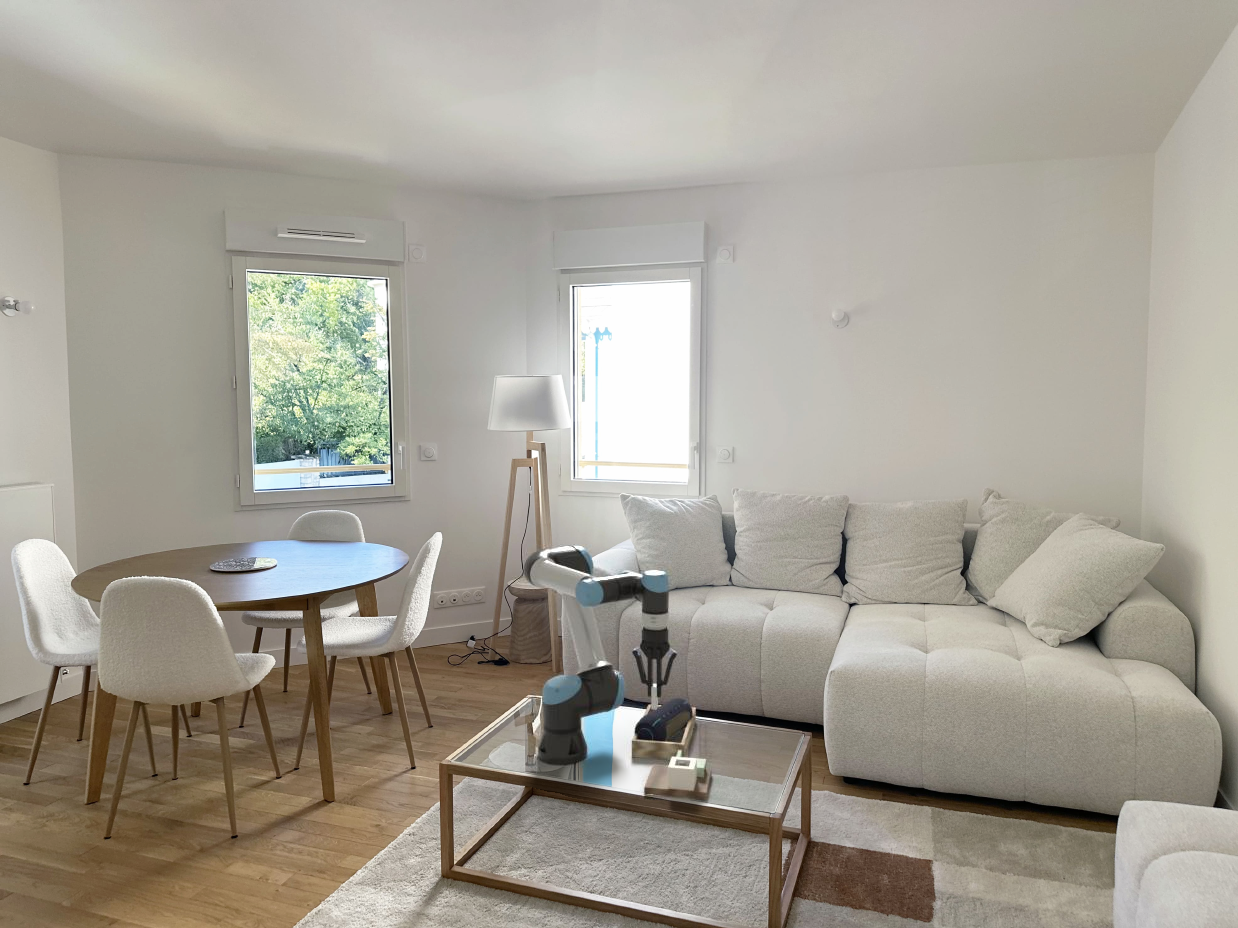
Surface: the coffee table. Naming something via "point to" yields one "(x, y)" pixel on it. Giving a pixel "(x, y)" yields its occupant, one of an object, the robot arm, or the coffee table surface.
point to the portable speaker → (664, 721)
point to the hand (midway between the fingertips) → (654, 707)
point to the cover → (700, 764)
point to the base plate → (659, 786)
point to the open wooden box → (662, 743)
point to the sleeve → (682, 774)
